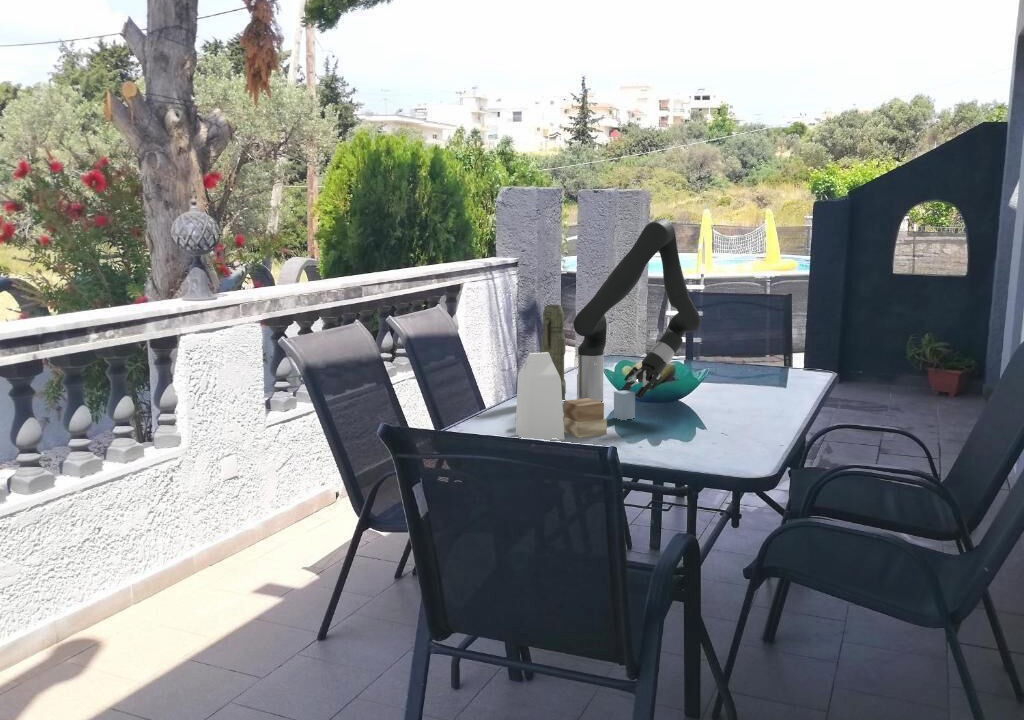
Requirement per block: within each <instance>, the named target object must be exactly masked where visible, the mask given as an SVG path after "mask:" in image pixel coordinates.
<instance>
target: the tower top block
mask: <svg viewBox="0 0 1024 720" xmlns="http://www.w3.org/2000/svg"><path fill="white" fill-rule="evenodd" d="M604 415H605V403H604V402H603V401H602V402H599V401H596V400H593V399H590V398H584V399H577V398H576V399H569V400H565V401H563V416H564V417H567V418H569V419H572V420H575V421H577V422H584V421H591V420H599V419H604V418H605V416H604Z"/></svg>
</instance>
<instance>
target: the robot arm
mask: <svg viewBox="0 0 1024 720" xmlns="http://www.w3.org/2000/svg"><path fill="white" fill-rule="evenodd" d="M657 253H659V255H660V259H661V263H662V275H663V278H662V279H663V285H664V289H665V292H666V296H667V299H668V302H669V304H670V306H671V307H673V308H675V309H676V310H677V311H676V312H677V313H676V314H674V315H673V316H672V318H671V320H670V321H669V323H668V325H667V326H666V330H665V331H664V333H663V334H662V336H661V337H660V338H659V340H657V342H656V343H655V344H654V345H653V346H652V348H651V349H650V351H648V353H647V354H646V356H645V357H644V358H643V359H642V361H641V367H639V368H637V367H636V366H634V367H632V369H631V370H630V371H629V372H628V373H627V375H626V376H625V377H624V379H623V380H624V381H625V382H626V383H625V384H624V385H623V386H622V388H621V390H620V391H623V390H628V391H630V390H631V389H632V387H633V386H635V385H638V384H642V386H640V388H639V390H638V391H637V392H635V398H637V399H639V400H641V399H642V398H643V397H644V396H645V395H646V393H647V392H648V391H650V390H651V391H654V390H655V389H656V387H657V385H659V383H660V381H661V380H662V379H663V376H662V375H661V374H662V373H663V371H664V370H665V369H666V368H667V366H668V364H670V362H671V361H672V359H673V357H674V356H675V355H676V353H677V351H678V350H679V349H680V348H681V347H682V345H683V342H684V341H683V336H684V335H685V334H686V333H695V332H696V331H697V330H699V328H700V326H701V317H700V313H699V311H698V310H697V308H696V306H695V303H694V302H693V301H692V299H691V297H690V294H689V290H688V287H687V283H686V280H685V278H684V274H683V270H682V265H681V262H680V256H679V251H678V245H677V235H676V230H675V227H674V225H673V223H672V222H671V220H668V219H666V218H658V219H654V220H653V221H651V222H648V224H646V225H645V227H644V228H643V229H642V231H641V233H640V234H639V236H638V238H637V239H636V241H635V243H634V245H633V246H632V247H631V249H630V250H629V251H628V253H627V254H626V255H625V256H624V257H623V258H622V259H621V260H620V261H619V263H618V264H617V265H616V266H615V268H614V269H613V270H612V272H610V274H609V275H608V276H607V278H606V280H605V281H604V282H603V283H602V285H601V286H600V287H599V289H598V290H597V292H596V293H595V294H594V295H593V297H592V298H591V299H590V300H589V301H588V302H587V304H585V306H584V307H583V308H582V309H581V310H580V311H579V312H578V313H577V314H576V316H575V317H574V321H573V329H574V331H575V333H576V334H577V335H579V336H580V337H583V340H582V343H581V344H579V346H578V347H577V374H576V399H584V398H590V399H593V400H596V401H599V402H601V401H602V402H603V401H604V358H605V357H604V354H605V353H604V350H605V347H606V344H607V329H608V327H607V326H608V325H607V318H606V316H605V314H606V313H607V312H608V311H610V310H611V308H613V307H615V306H616V305H617V304H618V303H620V302H621V301H622V300H624V299H625V298H626V297H627V296H628V295H629V294H630V293H631V291H632V290H633V289H634V288H635V286H636V285H637V284H638V282H639V281H640V279H641V277H642V275H643V273H644V270H645V269H646V266H647V264H648V263H649V261H651V260H652V258H653V257H654V256H655V255H656V254H657Z"/></svg>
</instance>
